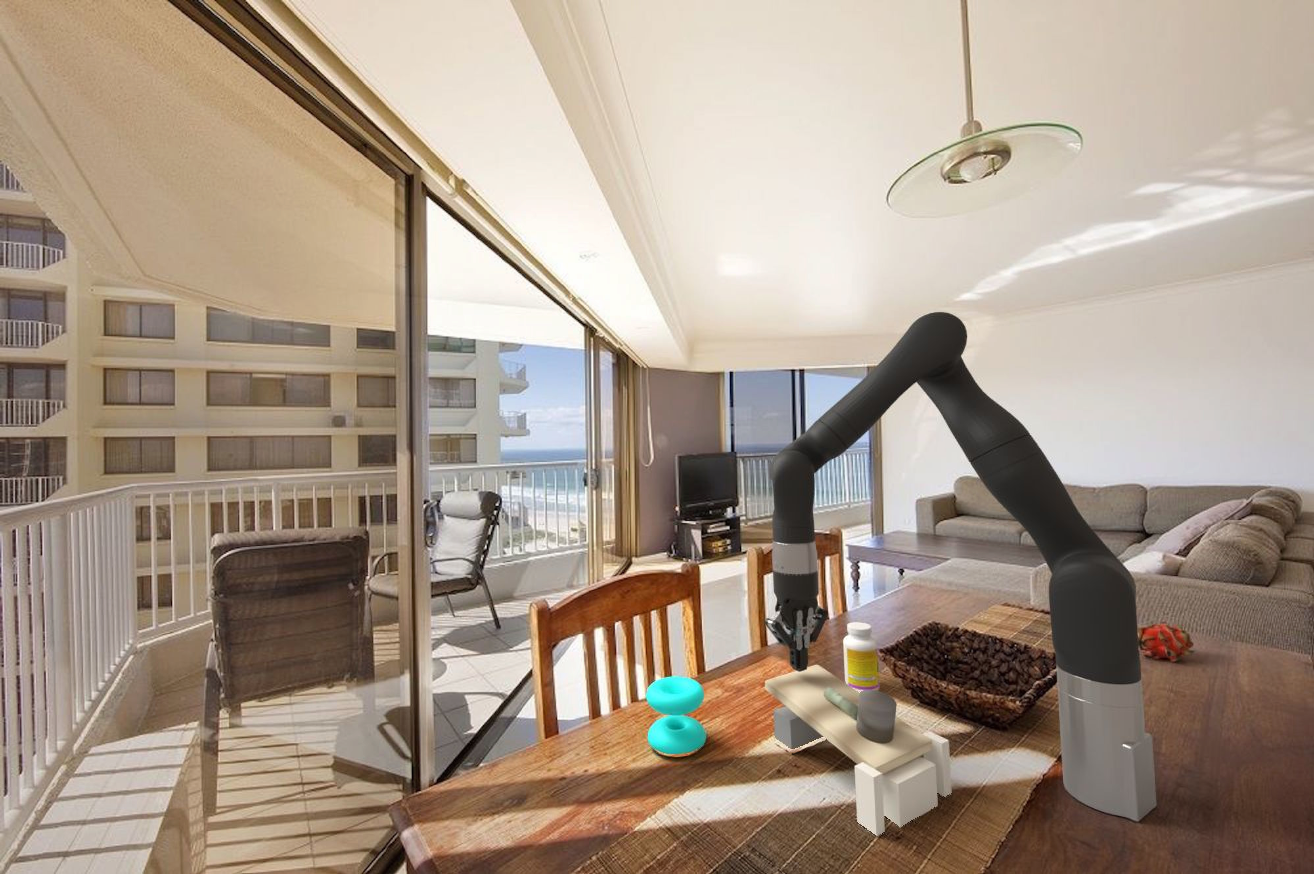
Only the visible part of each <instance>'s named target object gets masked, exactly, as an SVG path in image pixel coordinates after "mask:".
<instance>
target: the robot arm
mask: <svg viewBox="0 0 1314 874" xmlns="http://www.w3.org/2000/svg"><path fill="white" fill-rule="evenodd" d="M966 328H967V327H966V325H965V323H963V321H962V320H961V318H959V317H957V315H954V314H952V313H949V312H945V311H935V312H929V313H927V314H924V315H921V317H918V318H917V319H916V320H915V321H913V323H912V324H911V325H910V326H909V328H908V329H907V330H906V332H904V334H903V335H902V337H900V339H899V340H898V341H897V342H896V344H895V345H894V346H893V348H892V349H891V350H890V351H889V352H888V354H887V355H885V356H884V358H883V359H882V360H881V361H880V362H879V363H878V364H877V365H876V366H875V367H874V368H873V369H872V370H871V371H870V372H869V373H868V374H867V375H866V376H865V377H864V378H863V379H861V381H859V382H858V383H857V384H856V385H855V386H854V387H853V388H851V390H849V391H848V392H847V393H846V394H845V395H844V396H843V397H842V398H840V399H839V400H838V401H837V402H836V403H834V405H833V406H831V407H830V408H829V409H828V410H827V411H826V412H825V413H823V414H822V415H821V416H819V418H818V419H817V420H815V421H814V422H813V423H812V424H811V426H810V427H809V428H808V429H807V430H806V431H805V432H804V433H803V434H801V435H800V436H799V437H797V438H796V439H794V440H793V441H791V443H789V444H788V445H786V446H785V447H784V448H783V449H782V450H781V451H780V452H778V453H777V454H776V455H775V456H774V457H773V458H772V460H771V461H770V463H769V467H768V474H769V477H770V480H771V481H772V484H771V485H772V493H773V507H774V508H773V512H772V519H771V520H772V522H771V525H772V526H771V527H772V549H771V550H772V552H771V555H772V557H771V559H772V562H771V563H772V581H773V585H772V586H773V594H774V595H775V598H776V603H775V607H774V611H775V612H774V614H773V615H772V617H770V618H769V617H767V618H765V620H764V625H765V626H766V627H767V628H768V630H769V632H770V633H771V634H772V635H773V636H774V638H775V639H776V641H777V642H778V644H780V645H782V646H783V647H786V648H788V649H789V650H788V651H789V665H790V667H791V668H792V670H794V671H798V672H801V671H804V670H807V667H809V666H808V664H809V649H808V648H809V647H810V645H811V644H812V642H813V643H816V642H817V640H818V638H819V636H820V634H821V631H822V630H823V627H824V624H825V623H826V620H827V618H828V616H829V611H828V610H827V609H825V608H822V607H821V606H819V602H818V599H817V597H818V596H819V593H820V587H819V585H820V583H819V566H818V565H819V564H818V563H819V561H818V551H817V545H816V534H815V533H816V532H815V518H814V505H815V503H814V502H815V490H816V489H815V487H816V485H815V483H816V481H815V480H816V478H815V474H816V473H817V472H818V471H819V470H820V469H822V468H823V466H825V465H826V464H827V463H828V462H830V461H832V460H834V459H836V458H838V457H840V456H842V454H844V453H845V452H846V451H847V450H848V449H850V448H851V447H852V446H853V445H854V444H855V443H856V442H858V440H860V439H861V438H862V437H863V436H864V435H865V434H866V433H867V432H869V431H870V429H871V428H873V427H874V425H875V424H876V423H877V422H878V421H879V420H880V419H881V418H882V416H884V414H885V413H886V412H887V411H888V410H889V409H890V407H892V406H893V404H895V403H896V402H897V400H898V399H899V398H901V396H902V395H903V394H904V393H905V392H906V391H908V390H909V389H910V388H911V387H912V386H913V385H915V384H916V383H917V385H918V386H919V387H920V388H921V389H922V390H923V392H924V393H925V394H926V396H928V398H929V400H931V402H932V403H933V404H934V406H935V407H936V409H937V410H938V412H939V413H940V414H941V416H942V418H943V420H944V422H945V423H946V426H947V427H948V429H949V431H950V433H951V434H952V436H953V438H954V439H955V440H956V442H957V444H958V445H959V447H960V449H961V450H962V452H963V453H964V455H965V457H966V459H967V460H968V462H969V463H970V465H971V467H972V469H973V470H974V471H975V473H976V474H977V476H978V478H979V479H980V481H981V483H983V485H984V487H985V488H986V489H987V490H988V492H990V494H991V495H992V496H993V497H994V498H995V499H996V501H997V502H998V503H999V504H1000V505H1001V506H1002V507H1003V508H1004V509H1005V510H1006V511H1007V512H1008V513H1009V514H1010V515H1011V516H1012V518H1014V519H1015V520H1016V521H1017V522H1018V523H1019V524H1020V525H1021V526H1022V527H1023V528H1024V530H1025V531H1026V532H1027V533H1028V534H1029V536H1030V537H1031V539H1032V541H1033V542H1034V544H1035V545H1036V547H1037V549H1038V550H1039V552H1040V553H1041V555H1042V558H1043V559H1044V561H1045V563H1046V565H1047V566H1048V569H1049V571H1050V573H1051V576H1050V579H1049V584H1048V602H1049V617H1050V628H1051V640H1052V641H1051V642H1052V645H1053V646H1052V647H1053V649H1054V653H1055V664H1056V665H1055V666H1056V681H1057V698H1058V715H1059V732H1060V748H1061V751H1060V752H1061V765H1062V767H1061V769H1062V771H1061V772H1062V779H1063V787H1064V789H1065V791H1067V792H1068V794H1069V795H1070V796H1071V797H1073V798H1075V799H1076V800H1077V801H1079V802H1081V803H1082V804H1084V805H1086V806H1088V807H1090V808H1093V809H1095V810H1097V811H1100V812H1103V813H1105V814H1109V815H1114V816H1117V817H1118V816H1119V817H1124V818H1127V819H1130V820H1132V821H1134V822H1140V821H1141V820H1142V819H1143V818H1144V817H1145V816H1147V815H1148V814H1149V813H1150V812H1151V811H1152V810H1153V809H1155V808H1156V807H1157V794H1156V793H1157V792H1156V780H1155V777H1156V776H1155V775H1156V774H1155V764H1154V762H1155V760H1154V749H1153V747H1154V745H1153V736H1152V735H1151V734H1150V733H1149V732H1146V730H1145V728H1146V727H1145V714H1144V713H1145V712H1144V697H1143V683H1142V682H1143V681H1142V668H1141V666H1142V664H1141V663H1142V662H1141V655H1140V648H1139V645H1138V637H1139V633H1138V631H1139V628H1138V615H1137V602H1136V601H1137V600H1136V599H1137V598H1136V597H1137V586H1136V583H1135V580H1134V577H1133V576H1132V574H1131V573H1130V571H1129V570H1128V569H1127V567H1126V566H1125V564H1123V562H1122V561H1121V560H1119V558H1118V557H1117V556H1116V555H1115V554H1114V552H1112V550H1111V549H1110V548H1109V547H1108V546H1107V545H1106V543H1104V541H1103V540H1102V539H1101V538H1100V537H1099V535H1098V534H1097V533H1096V532H1095V531H1094V530H1093V528H1092V527H1091V526H1090V525H1089V523H1088V522H1087V521H1086V520H1085V518H1084V517H1083V516H1082V514H1081V513H1080V511H1079V510H1078V508H1077V507H1076V505H1075V503H1074V501H1073V499H1072V497H1071V495H1070V494H1069V492H1068V490H1067V488H1066V487H1065V485H1064V484H1063V482H1062V479H1061V478H1060V476H1059V474H1058V473H1057V472H1056V470H1055V468H1054V466H1052V464H1051V462H1050V461H1049V458H1048V457H1047V456H1046V455H1045V453H1044V452H1043V450H1042V449H1041V448H1040V446H1039V444H1038V443H1037V442H1036V440H1035V439H1034V437H1033V436H1032V435H1031V433H1030V432H1029V430H1028V429H1027V428H1026V427H1025V425H1024V424H1023V423H1022V422H1021V421H1020V420H1019V419H1018V418H1017V417H1015V415H1013V414H1012V413H1011V412H1009V411H1008V410H1007V409H1006V408H1004V407H1003V406H1002V405H1000V404H999V403H998V402H996V400H994V399H993V398H991V397H990V396H989V395H988V394H987V393H986V392H985V391H983V389H982V388H981V387H980V386H979V384H978V383H977V382H976V380H975V379H974V377H973V375H972V373H971V372H970V371H969V368H968V367H967V365H966V363H965V362H964V359H963V358H962V356H963V354H964V351H965V350H966V349H965V348H966V346H967V344H968V343H967V341H968V331H967V329H966Z"/></svg>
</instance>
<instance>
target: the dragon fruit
mask: <svg viewBox="0 0 1314 874" xmlns="http://www.w3.org/2000/svg"><path fill="white" fill-rule="evenodd" d="M1138 645H1139V650H1141V651H1144V652H1143V654H1144V655H1143V656H1144V657H1145V658H1151V659H1154V660H1157V659H1161V658H1167V659H1169V661H1170V662H1171V663H1175V662H1177V661H1179V660H1180V659H1181V656H1185V657H1187V656H1192V655H1193V654H1194V652H1195V651H1194V650H1191V648H1193V647H1194V642H1193V641H1192V638H1191V635H1190V633H1188V632H1187V631H1186V630H1184V629H1183V627H1182V626H1179V625H1175V626H1171V625H1169V624H1168V623H1167V622H1166V621H1161V624H1160V625H1159V624H1155V623H1152V622H1150V623H1149V624H1148V625H1147V626H1144V627H1141V628H1138Z"/></svg>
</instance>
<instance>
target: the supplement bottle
mask: <svg viewBox="0 0 1314 874" xmlns="http://www.w3.org/2000/svg"><path fill="white" fill-rule="evenodd" d="M846 626H847V627H846V628H847V629H846V630H847V634H848V635H846V636H845V637H844V638H843V640H842V641H843V643H842V644H843V645H842V646H843V664H844V667H843V668H844V683H845V682H846V684H847V685H849V686H850V687H852V688H855V689H858V690H868V689H871V690H873V689H876V688H878V687H879V688H880V673H879V672H880V671H879V657H878V656H879V654H878V653H879V652H878V643H877V641H876V639H875V638H873V637H872V636H871V635H872V626H871V625H870V624H868V623H865V622H857V621H853V622H849V623H847V624H846Z"/></svg>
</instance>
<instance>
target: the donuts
mask: <svg viewBox="0 0 1314 874" xmlns="http://www.w3.org/2000/svg"><path fill="white" fill-rule="evenodd" d="M645 696H646V697H645V698H646V701H647V702H646V703H648V705H649V706H650V708H652V710H654V711H656V712H657V713H660V714H661V715H662V714H663V715H667V716H664V717H663V716H662V717H661V718H659V719H657V720H655V721H654V722H653V723H652V725H651V726H650V728H649V730H648V734H647V741H648V745H649V744H650V745H651V746H652V748H654V749H656V750H658V751H660V752H663V753H666V754H682V753H689V752H692V751H695V750H696V749H699V748H700V747H701V746H703V747H704V745H705V744H704V743H706V739H707V733H706V729H705V727H704V726H703V725H702V723H700V722H699V721H698V720H697V719H695V718H694V717H691V716H688V715H687V714H690V713H692V712H695V711H696V710H697V709H698V708H700V707H701V705H702V703H703V702H704V699H705V691H704V688H703V686H702V685H701V684H700V683H699V682H698V681H697V680H695V679H693V678H689V677H684V676H667V677H663V678H659V679H657V680H655V681H654V682H652V683H651V684H650V685H649V686H648V688H647V690H646V695H645ZM703 744H704V745H703ZM650 745H649V746H650ZM651 746H650V747H651ZM652 748H651V749H652Z"/></svg>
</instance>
